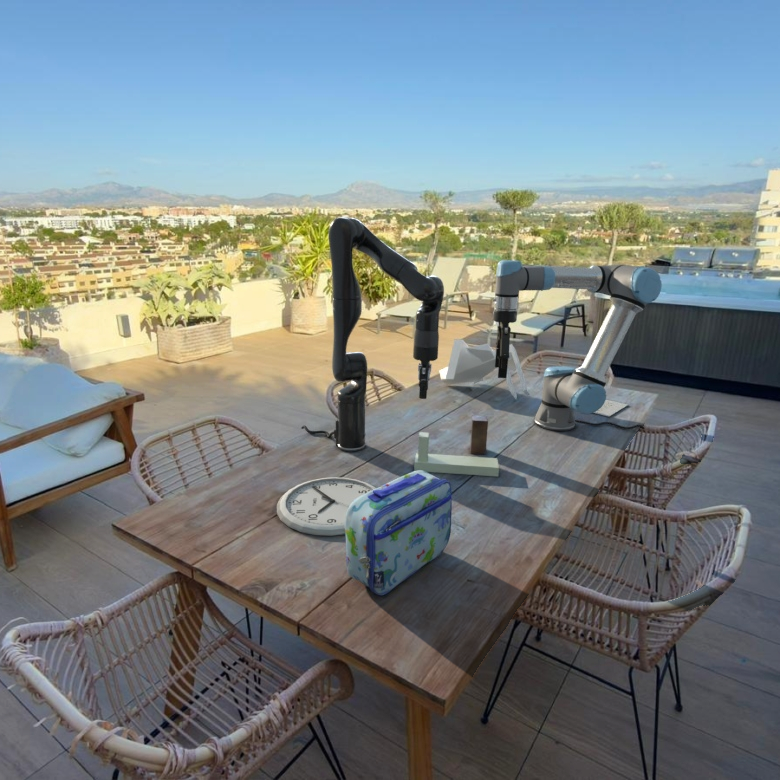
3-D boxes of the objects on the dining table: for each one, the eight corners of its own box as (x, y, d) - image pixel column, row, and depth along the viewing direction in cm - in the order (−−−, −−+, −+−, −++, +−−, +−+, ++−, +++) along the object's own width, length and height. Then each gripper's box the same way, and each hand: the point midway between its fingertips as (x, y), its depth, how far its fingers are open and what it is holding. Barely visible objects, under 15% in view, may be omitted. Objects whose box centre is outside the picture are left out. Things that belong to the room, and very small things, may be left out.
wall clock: (392, 527, 129) (268, 531, 127) (391, 533, 130) (269, 537, 127) (383, 473, 158) (282, 475, 155) (383, 478, 158) (282, 480, 156)
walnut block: (484, 448, 181) (487, 416, 178) (485, 454, 177) (488, 421, 173) (470, 447, 182) (472, 415, 178) (470, 453, 177) (472, 420, 174)
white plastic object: (461, 429, 252) (437, 405, 227) (444, 352, 274) (420, 323, 250) (535, 404, 240) (518, 377, 215) (510, 326, 262) (492, 293, 237)
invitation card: (608, 416, 214) (573, 407, 224) (608, 416, 214) (573, 408, 224) (628, 404, 229) (594, 396, 238) (628, 405, 229) (594, 397, 238)
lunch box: (373, 608, 104) (374, 515, 98) (339, 582, 112) (337, 495, 105) (455, 554, 122) (460, 473, 116) (421, 535, 129) (424, 458, 123)
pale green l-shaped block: (496, 466, 168) (499, 434, 164) (498, 476, 161) (501, 443, 158) (415, 461, 170) (416, 430, 167) (414, 470, 164) (415, 438, 161)
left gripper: (415, 337, 165) (413, 386, 171) (411, 348, 152) (409, 400, 157) (439, 338, 165) (436, 387, 170) (437, 349, 151) (434, 402, 156)
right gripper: (491, 303, 182) (487, 362, 188) (496, 315, 158) (491, 382, 165) (513, 304, 181) (508, 363, 188) (522, 315, 158) (515, 383, 164)
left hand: (423, 394), depth 163 cm, fingers open, 8 cm apart
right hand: (500, 372), depth 176 cm, fingers open, 13 cm apart
